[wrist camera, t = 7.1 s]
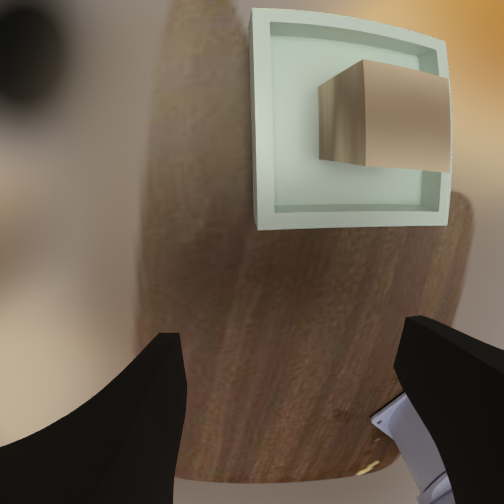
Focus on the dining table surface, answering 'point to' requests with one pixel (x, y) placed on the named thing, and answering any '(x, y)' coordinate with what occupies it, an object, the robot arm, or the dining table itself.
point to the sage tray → (307, 125)
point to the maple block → (385, 118)
